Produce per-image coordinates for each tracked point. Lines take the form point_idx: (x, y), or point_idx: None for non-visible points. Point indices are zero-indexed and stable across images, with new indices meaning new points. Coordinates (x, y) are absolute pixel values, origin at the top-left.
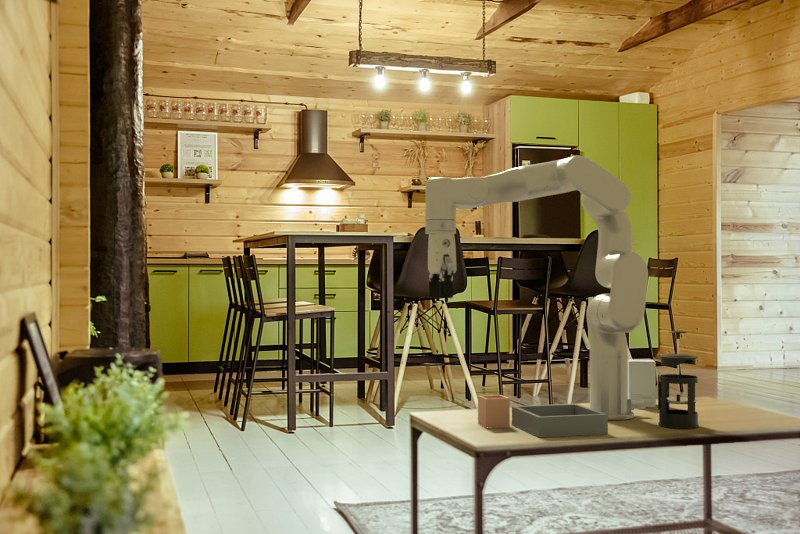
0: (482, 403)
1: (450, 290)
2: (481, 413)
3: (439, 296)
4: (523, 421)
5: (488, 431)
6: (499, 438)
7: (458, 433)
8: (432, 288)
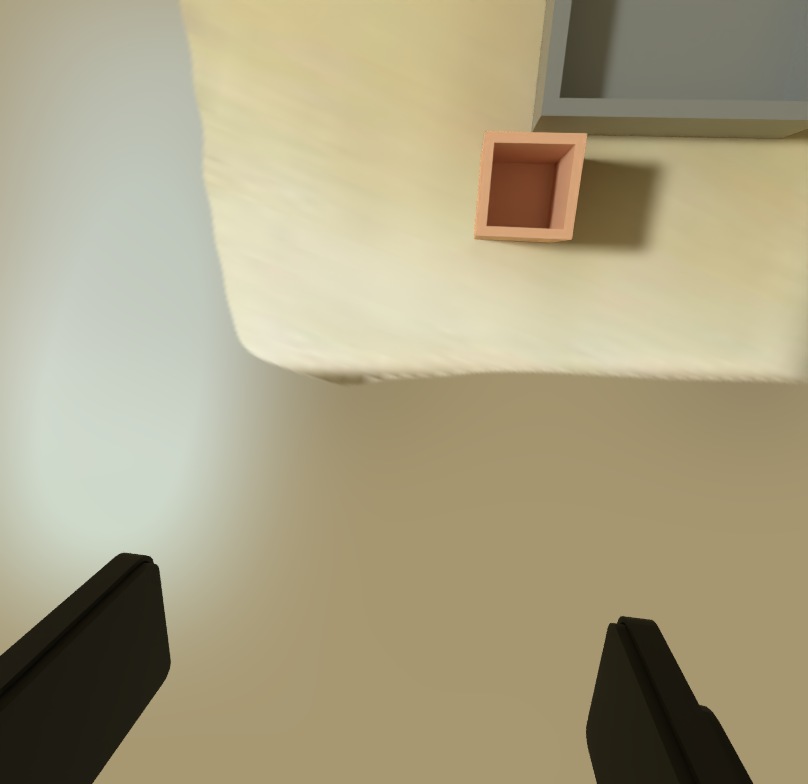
0: (527, 238)
1: (732, 751)
2: (512, 239)
3: (160, 580)
4: (653, 128)
5: (609, 257)
6: (731, 270)
7: (602, 354)
8: (98, 743)
